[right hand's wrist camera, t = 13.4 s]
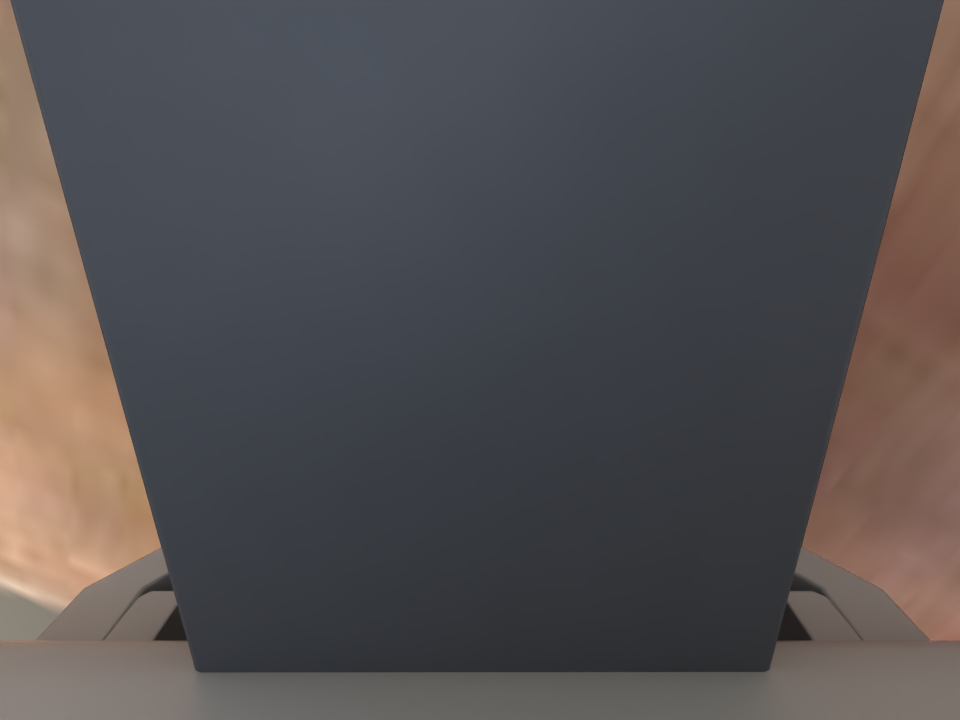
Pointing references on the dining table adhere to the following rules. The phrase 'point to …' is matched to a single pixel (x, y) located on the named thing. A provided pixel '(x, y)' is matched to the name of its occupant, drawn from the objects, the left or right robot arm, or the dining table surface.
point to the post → (479, 309)
